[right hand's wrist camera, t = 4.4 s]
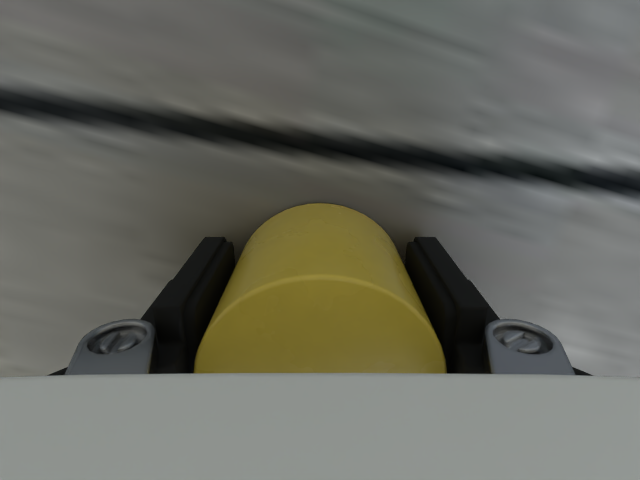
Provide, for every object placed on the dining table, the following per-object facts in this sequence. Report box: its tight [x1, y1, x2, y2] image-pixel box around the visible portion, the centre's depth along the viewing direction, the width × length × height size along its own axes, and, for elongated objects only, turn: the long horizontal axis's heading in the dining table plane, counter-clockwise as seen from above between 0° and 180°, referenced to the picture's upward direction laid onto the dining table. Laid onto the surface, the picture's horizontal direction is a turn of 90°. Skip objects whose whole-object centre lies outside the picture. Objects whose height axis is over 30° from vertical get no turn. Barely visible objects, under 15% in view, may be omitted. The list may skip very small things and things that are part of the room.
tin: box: [193, 203, 447, 374], centre depth 10 cm, size 5×5×5 cm
